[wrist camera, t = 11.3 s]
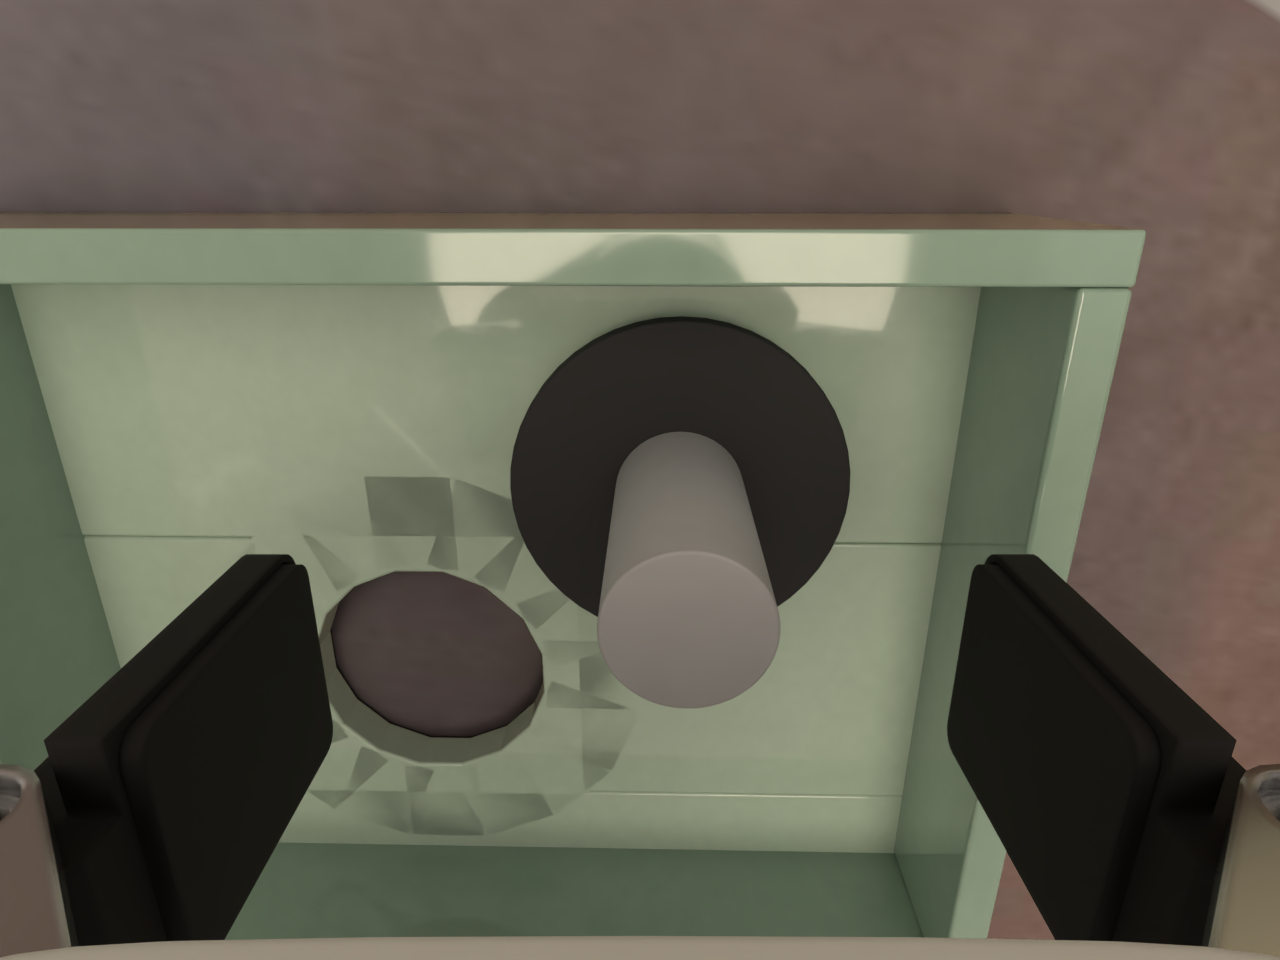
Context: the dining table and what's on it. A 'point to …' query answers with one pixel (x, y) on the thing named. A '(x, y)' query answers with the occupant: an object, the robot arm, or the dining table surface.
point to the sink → (608, 256)
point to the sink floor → (509, 536)
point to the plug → (681, 498)
